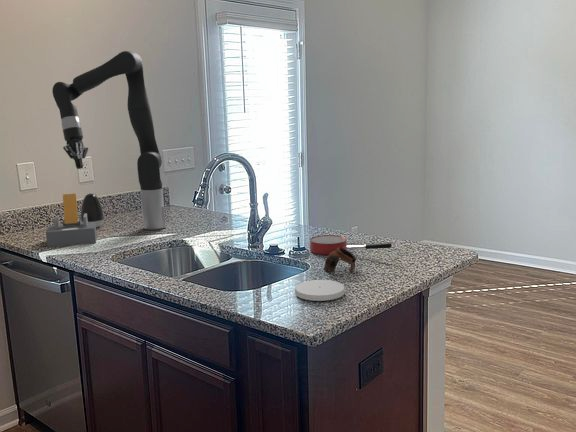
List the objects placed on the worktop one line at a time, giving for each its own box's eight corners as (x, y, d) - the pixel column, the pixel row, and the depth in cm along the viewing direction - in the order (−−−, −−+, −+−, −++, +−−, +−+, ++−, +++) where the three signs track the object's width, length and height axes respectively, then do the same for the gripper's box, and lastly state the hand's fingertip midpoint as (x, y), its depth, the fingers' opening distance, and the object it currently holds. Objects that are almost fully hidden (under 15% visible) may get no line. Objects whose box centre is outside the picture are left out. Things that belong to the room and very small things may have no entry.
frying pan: (401, 255, 210) (401, 237, 209) (385, 264, 200) (385, 246, 198) (322, 245, 228) (321, 228, 227) (303, 253, 217) (303, 235, 216)
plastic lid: (300, 306, 164) (300, 297, 164) (290, 290, 178) (290, 282, 177) (350, 301, 167) (350, 292, 166) (337, 286, 180) (337, 278, 180)
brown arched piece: (329, 266, 201) (341, 245, 200) (351, 282, 197) (364, 261, 195) (312, 266, 191) (325, 244, 189) (334, 283, 187) (348, 261, 185)
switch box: (96, 235, 253) (94, 212, 251) (95, 242, 241) (93, 218, 239) (51, 239, 249) (48, 215, 247) (47, 247, 236) (44, 222, 234)
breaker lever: (80, 225, 247) (78, 194, 249) (79, 224, 245) (77, 193, 246) (63, 226, 246) (61, 195, 247) (62, 225, 243) (60, 194, 245)
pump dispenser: (109, 224, 275) (106, 191, 272) (99, 229, 265) (96, 195, 262) (87, 224, 276) (84, 191, 273) (77, 229, 266) (74, 195, 263)
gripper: (67, 124, 249) (75, 165, 248) (89, 128, 262) (97, 167, 260) (53, 129, 252) (61, 170, 251) (76, 133, 264) (84, 171, 263)
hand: (80, 168), depth 256 cm, fingers closed
